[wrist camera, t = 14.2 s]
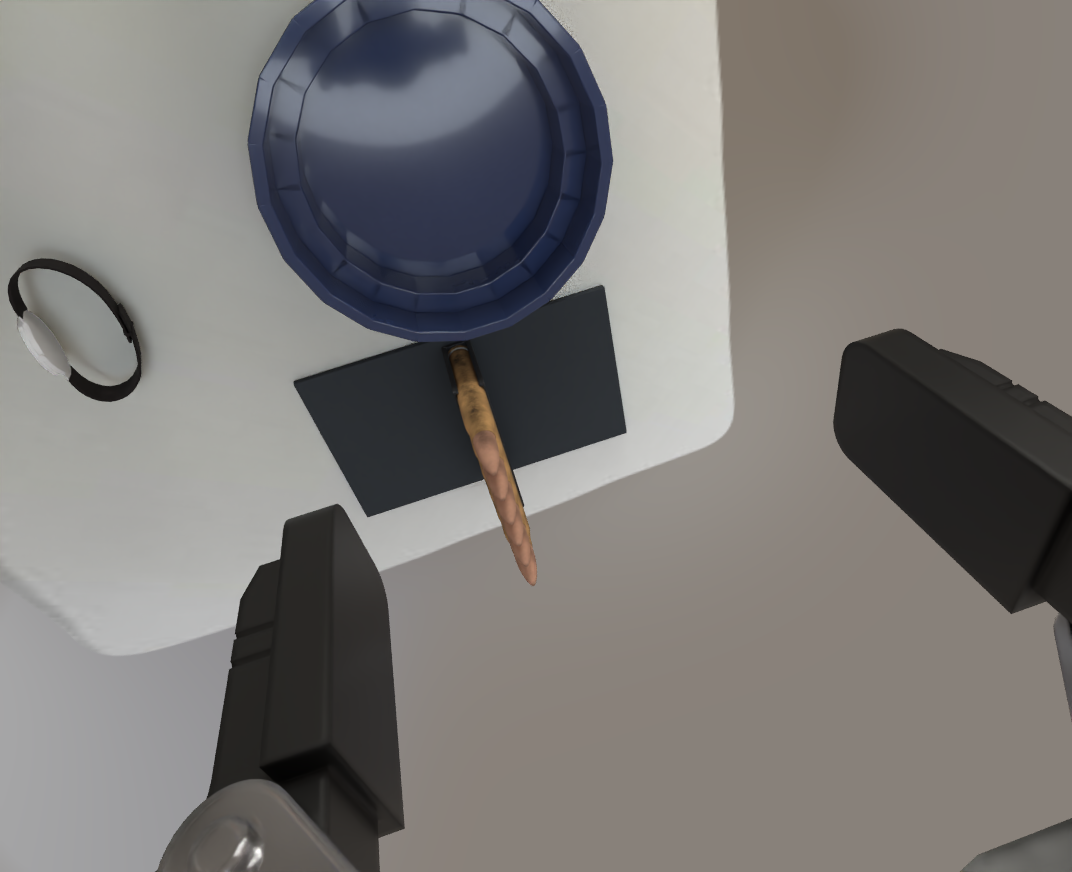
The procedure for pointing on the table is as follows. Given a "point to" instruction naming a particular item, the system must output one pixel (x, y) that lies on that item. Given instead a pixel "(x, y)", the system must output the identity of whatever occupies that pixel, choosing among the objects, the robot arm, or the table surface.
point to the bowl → (430, 160)
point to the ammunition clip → (490, 451)
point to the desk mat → (434, 418)
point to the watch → (48, 346)
